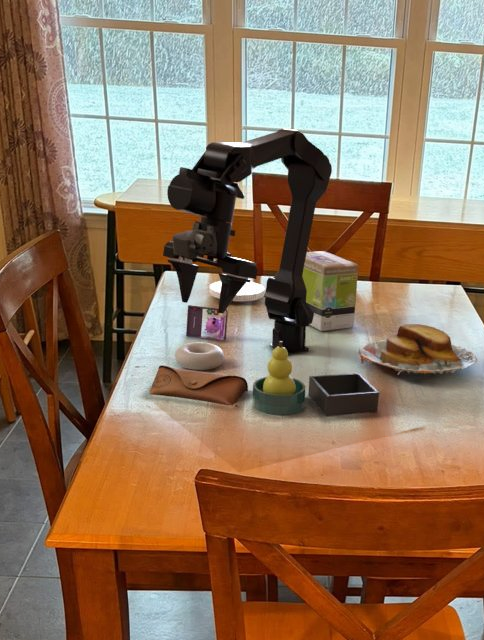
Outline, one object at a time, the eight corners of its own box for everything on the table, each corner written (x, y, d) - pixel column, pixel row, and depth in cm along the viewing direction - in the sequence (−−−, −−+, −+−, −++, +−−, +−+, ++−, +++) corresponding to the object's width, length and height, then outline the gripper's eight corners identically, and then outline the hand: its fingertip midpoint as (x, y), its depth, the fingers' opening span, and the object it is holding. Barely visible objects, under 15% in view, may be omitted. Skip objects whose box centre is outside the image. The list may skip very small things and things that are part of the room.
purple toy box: (186, 304, 181) (226, 309, 180) (193, 306, 186) (232, 311, 185) (185, 336, 183) (224, 340, 182) (191, 337, 188) (230, 341, 187)
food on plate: (346, 374, 171) (348, 343, 167) (372, 339, 191) (375, 311, 188) (467, 393, 166) (472, 361, 163) (481, 355, 187) (486, 326, 183)
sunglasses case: (142, 395, 153) (147, 359, 153) (155, 401, 160) (160, 367, 160) (236, 408, 151) (241, 371, 151) (245, 413, 158) (250, 379, 158)
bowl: (255, 397, 157) (255, 374, 155) (305, 400, 158) (306, 378, 155) (250, 417, 149) (250, 393, 147) (303, 420, 150) (304, 397, 147)
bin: (308, 399, 158) (309, 376, 156) (357, 395, 162) (358, 372, 159) (325, 420, 151) (327, 396, 148) (377, 415, 154) (379, 392, 151)
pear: (283, 396, 157) (285, 334, 150) (301, 407, 153) (303, 344, 146) (256, 401, 154) (257, 338, 147) (273, 413, 150) (275, 348, 143)
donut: (167, 369, 167) (215, 375, 165) (166, 352, 165) (214, 358, 163) (185, 353, 175) (230, 359, 173) (184, 337, 173) (230, 343, 172)
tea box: (355, 327, 197) (360, 263, 189) (320, 332, 192) (323, 267, 184) (321, 310, 207) (324, 248, 199) (287, 314, 202) (289, 251, 194)
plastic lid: (275, 299, 212) (276, 289, 211) (235, 308, 203) (235, 298, 202) (239, 286, 220) (239, 277, 218) (198, 295, 211) (198, 285, 209)
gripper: (147, 203, 147) (135, 293, 152) (225, 221, 138) (210, 316, 144) (190, 214, 156) (178, 298, 161) (266, 232, 148) (250, 320, 153)
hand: (202, 307), depth 154 cm, fingers open, 9 cm apart
